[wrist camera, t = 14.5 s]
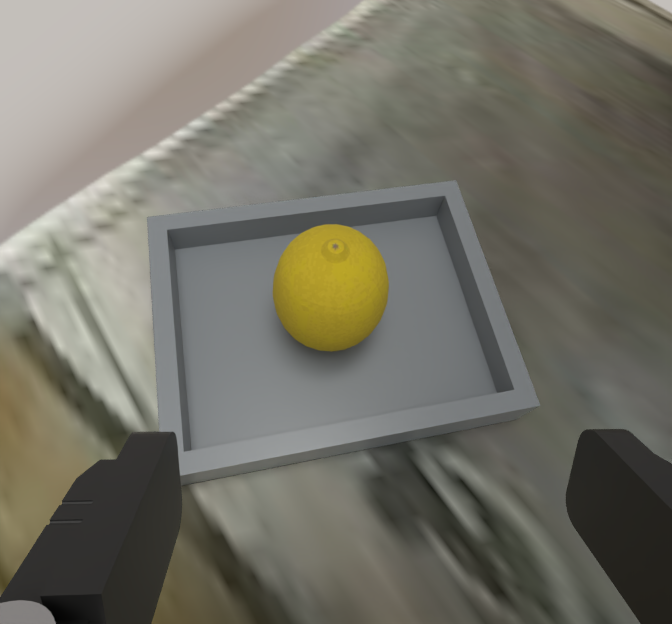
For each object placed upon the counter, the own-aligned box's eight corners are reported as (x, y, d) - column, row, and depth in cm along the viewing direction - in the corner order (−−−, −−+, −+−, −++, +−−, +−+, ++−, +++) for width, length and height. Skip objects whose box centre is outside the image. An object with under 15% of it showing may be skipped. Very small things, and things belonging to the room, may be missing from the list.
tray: (442, 210, 33) (455, 180, 30) (516, 419, 27) (540, 405, 25) (160, 246, 30) (147, 217, 28) (176, 486, 25) (162, 479, 22)
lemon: (275, 281, 29) (267, 192, 21) (371, 279, 29) (395, 191, 22) (276, 374, 26) (268, 308, 19) (381, 370, 27) (410, 304, 20)
